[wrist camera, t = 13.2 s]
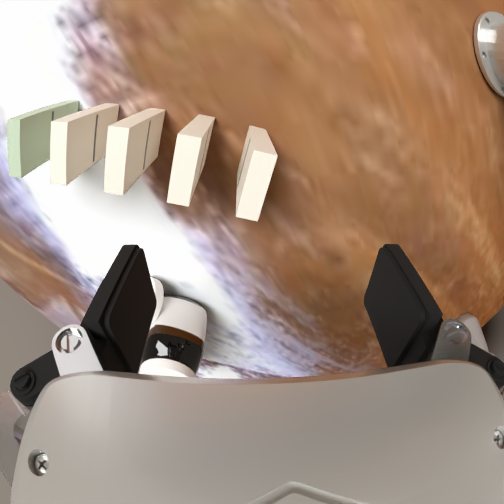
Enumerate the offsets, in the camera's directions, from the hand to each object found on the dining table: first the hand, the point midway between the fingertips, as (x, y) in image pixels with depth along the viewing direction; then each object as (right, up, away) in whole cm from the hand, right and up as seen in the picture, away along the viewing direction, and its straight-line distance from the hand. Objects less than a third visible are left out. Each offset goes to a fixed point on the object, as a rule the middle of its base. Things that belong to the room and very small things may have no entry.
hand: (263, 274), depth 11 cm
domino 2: (-10, +13, +15) cm, 22 cm away
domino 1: (-15, +14, +14) cm, 25 cm away
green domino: (-20, +15, +13) cm, 28 cm away
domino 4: (0, +11, +16) cm, 20 cm away
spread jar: (-12, -6, +28) cm, 31 cm away
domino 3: (-5, +12, +15) cm, 20 cm away
